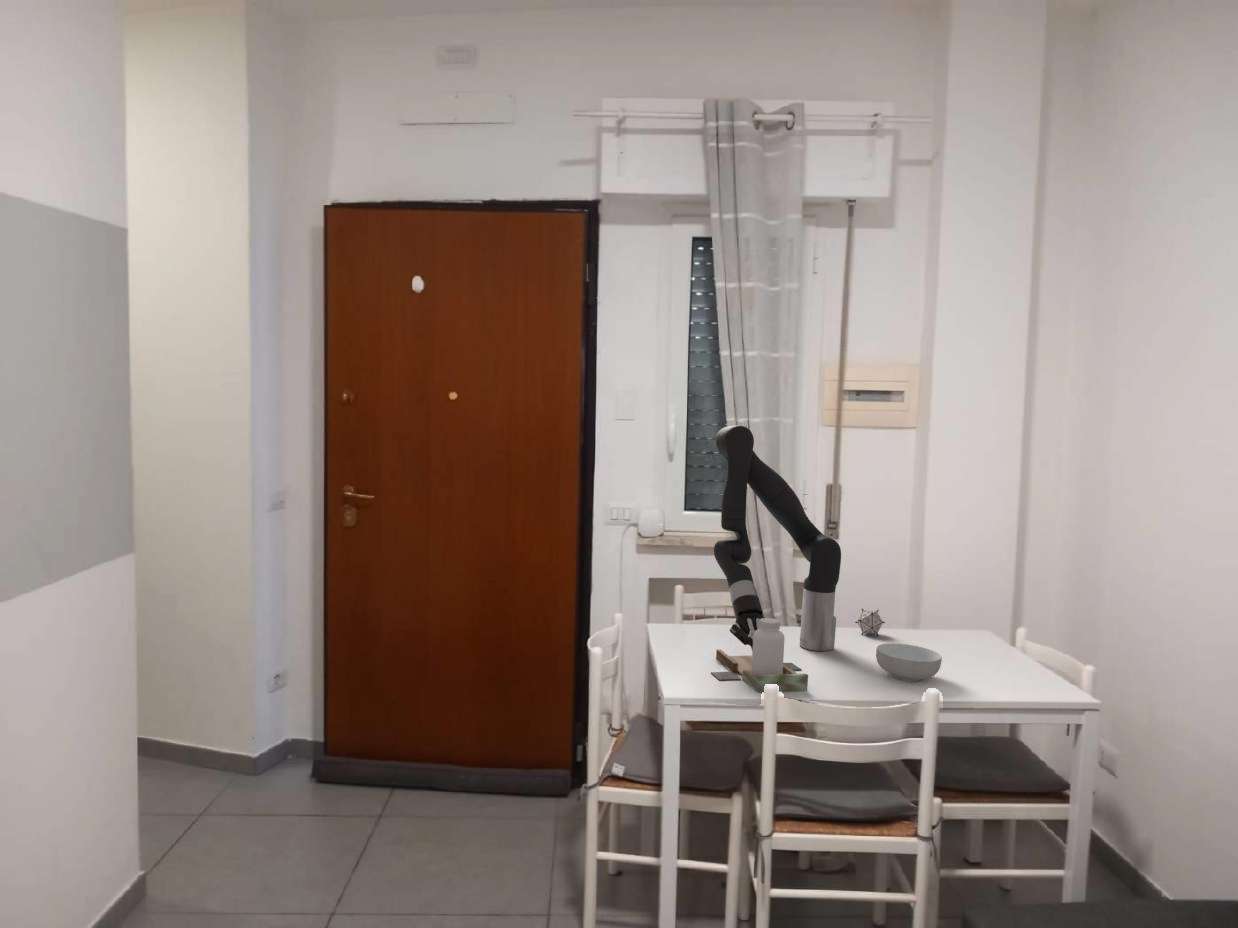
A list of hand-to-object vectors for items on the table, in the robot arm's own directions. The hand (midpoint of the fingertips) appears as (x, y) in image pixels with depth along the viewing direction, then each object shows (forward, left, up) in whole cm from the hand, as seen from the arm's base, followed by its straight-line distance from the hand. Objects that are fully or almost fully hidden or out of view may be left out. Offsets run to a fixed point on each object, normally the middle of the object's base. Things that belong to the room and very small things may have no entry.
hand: (760, 657), depth 230 cm
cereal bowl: (-40, +6, -5) cm, 41 cm away
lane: (0, -1, -4) cm, 5 cm away
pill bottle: (0, +4, -4) cm, 6 cm away
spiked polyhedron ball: (-53, -35, -5) cm, 64 cm away
